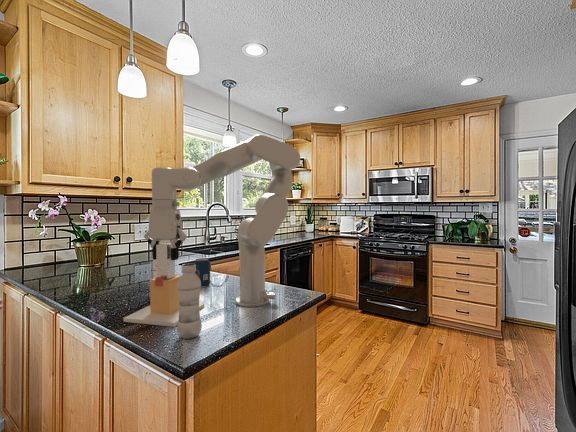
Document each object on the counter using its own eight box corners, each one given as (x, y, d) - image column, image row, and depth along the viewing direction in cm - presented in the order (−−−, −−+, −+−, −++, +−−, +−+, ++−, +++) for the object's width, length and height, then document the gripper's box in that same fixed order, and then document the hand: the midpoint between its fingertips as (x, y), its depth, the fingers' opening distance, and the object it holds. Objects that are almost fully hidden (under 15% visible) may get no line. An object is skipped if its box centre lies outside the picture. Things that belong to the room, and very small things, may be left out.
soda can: (192, 285, 137) (191, 259, 136) (206, 282, 141) (206, 257, 141) (198, 288, 131) (197, 261, 131) (212, 285, 136) (212, 259, 135)
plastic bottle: (172, 341, 80) (171, 267, 80) (184, 330, 87) (183, 262, 86) (194, 342, 79) (193, 267, 79) (205, 332, 86) (205, 263, 85)
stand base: (204, 306, 108) (203, 270, 107) (174, 326, 90) (173, 283, 89) (160, 303, 112) (159, 268, 111) (123, 321, 94) (122, 280, 93)
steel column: (176, 307, 102) (174, 243, 101) (168, 312, 98) (167, 245, 97) (164, 306, 103) (163, 243, 102) (156, 311, 99) (155, 244, 98)
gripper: (194, 205, 101) (195, 258, 102) (149, 205, 105) (150, 256, 106) (181, 205, 94) (182, 262, 94) (134, 205, 98) (135, 260, 98)
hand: (165, 258), depth 100 cm, fingers open, 6 cm apart
